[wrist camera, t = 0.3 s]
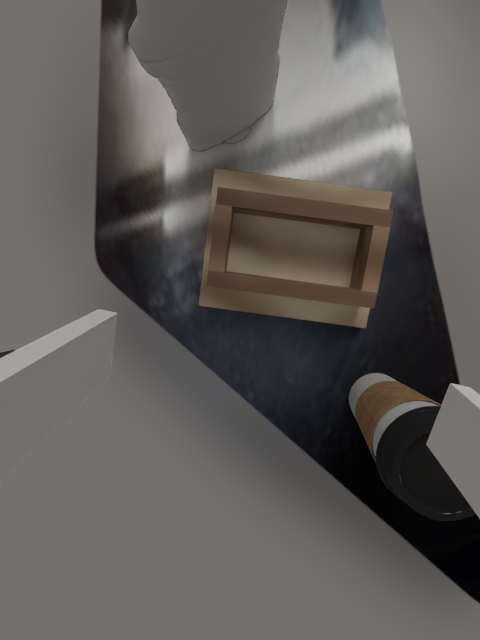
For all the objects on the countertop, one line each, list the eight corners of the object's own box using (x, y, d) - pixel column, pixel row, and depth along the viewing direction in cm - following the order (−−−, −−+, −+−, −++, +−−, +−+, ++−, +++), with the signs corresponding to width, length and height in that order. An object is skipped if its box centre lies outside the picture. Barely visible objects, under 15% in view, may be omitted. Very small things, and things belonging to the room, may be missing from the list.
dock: (215, 171, 37) (210, 156, 32) (386, 194, 37) (410, 183, 32) (200, 304, 39) (192, 310, 34) (361, 325, 39) (379, 335, 34)
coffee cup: (368, 445, 42) (435, 547, 27) (322, 394, 41) (364, 469, 26) (426, 400, 40) (529, 480, 26) (380, 346, 40) (459, 397, 25)
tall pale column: (266, 74, 35) (296, -225, 14) (286, 112, 36) (345, -117, 14) (176, 131, 36) (71, -62, 15) (197, 168, 37) (124, 33, 15)
